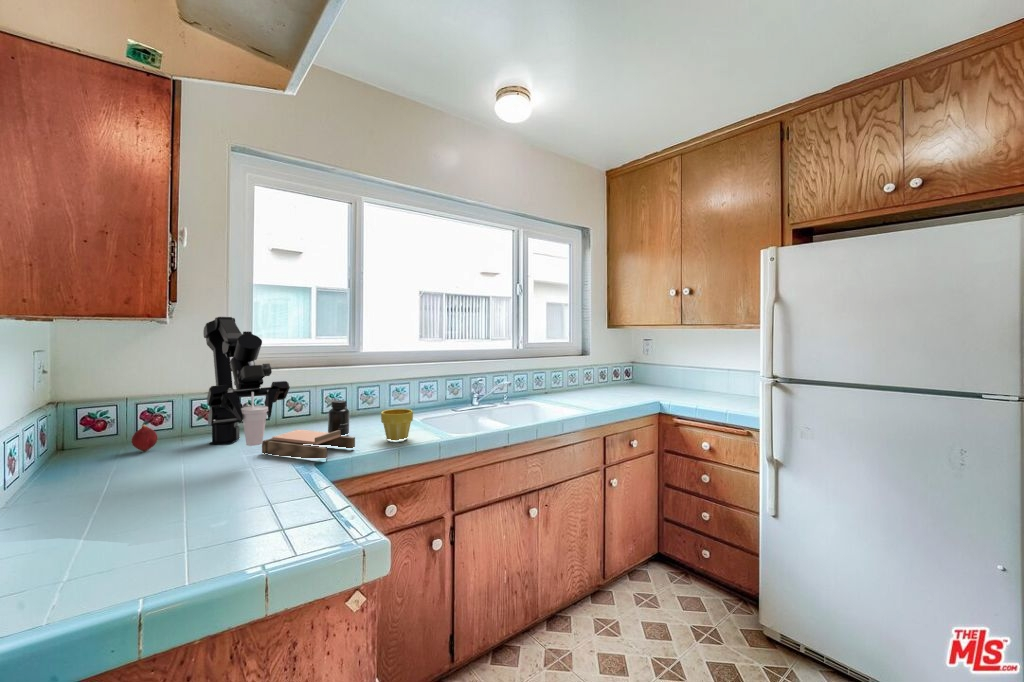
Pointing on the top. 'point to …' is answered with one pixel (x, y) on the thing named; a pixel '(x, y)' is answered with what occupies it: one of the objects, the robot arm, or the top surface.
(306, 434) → the trapdoor
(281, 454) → the frame
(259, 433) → the smoothie
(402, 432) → the plant pot
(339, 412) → the supplement bottle
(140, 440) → the onion
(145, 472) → the top surface
